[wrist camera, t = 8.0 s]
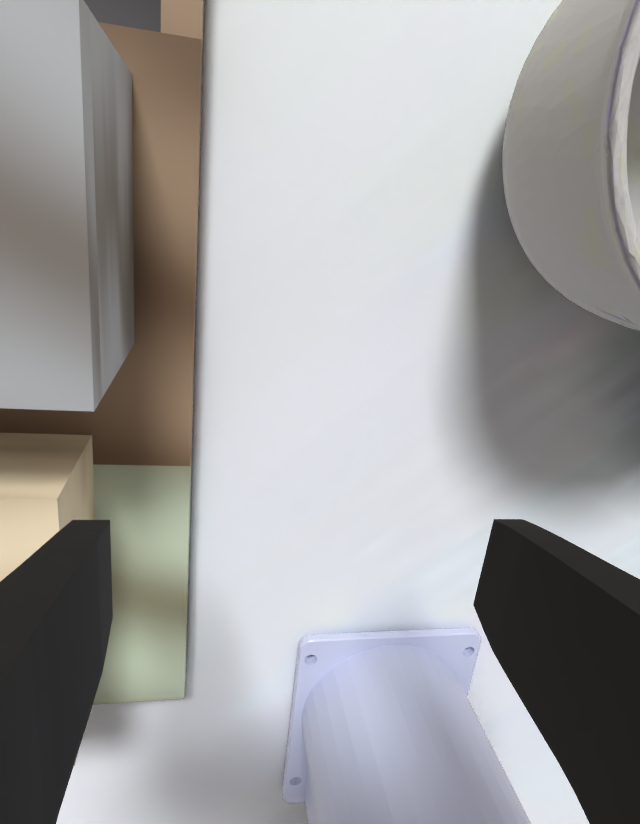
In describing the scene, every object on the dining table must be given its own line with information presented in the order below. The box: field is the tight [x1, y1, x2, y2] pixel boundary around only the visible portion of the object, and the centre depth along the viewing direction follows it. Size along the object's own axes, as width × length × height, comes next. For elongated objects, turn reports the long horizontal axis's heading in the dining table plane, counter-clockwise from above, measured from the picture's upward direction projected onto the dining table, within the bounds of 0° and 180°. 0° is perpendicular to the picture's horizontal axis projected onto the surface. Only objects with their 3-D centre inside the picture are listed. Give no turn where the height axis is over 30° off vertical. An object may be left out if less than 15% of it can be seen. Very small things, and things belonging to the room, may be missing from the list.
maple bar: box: [0, 433, 95, 765], centre depth 16 cm, size 9×4×4 cm, turn 174°
